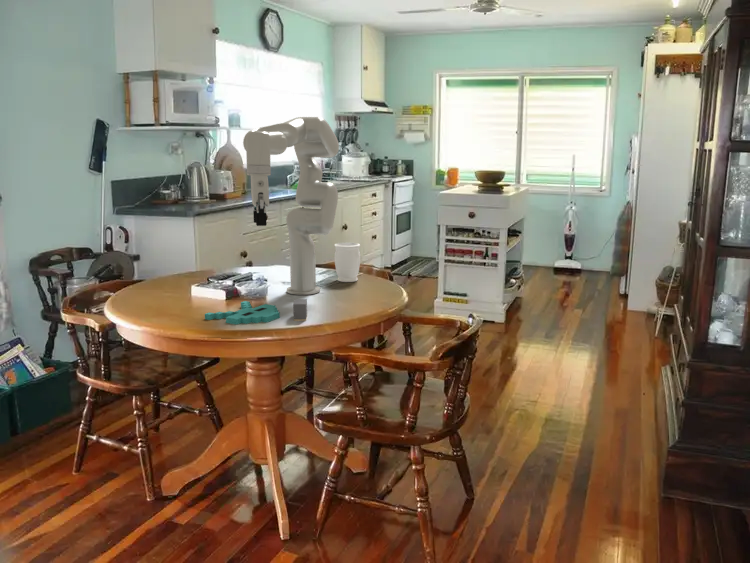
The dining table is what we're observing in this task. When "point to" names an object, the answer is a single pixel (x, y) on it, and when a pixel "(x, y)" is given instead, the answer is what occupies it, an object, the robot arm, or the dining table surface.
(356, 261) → the jar
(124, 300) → the dining table surface
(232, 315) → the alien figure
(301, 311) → the block
